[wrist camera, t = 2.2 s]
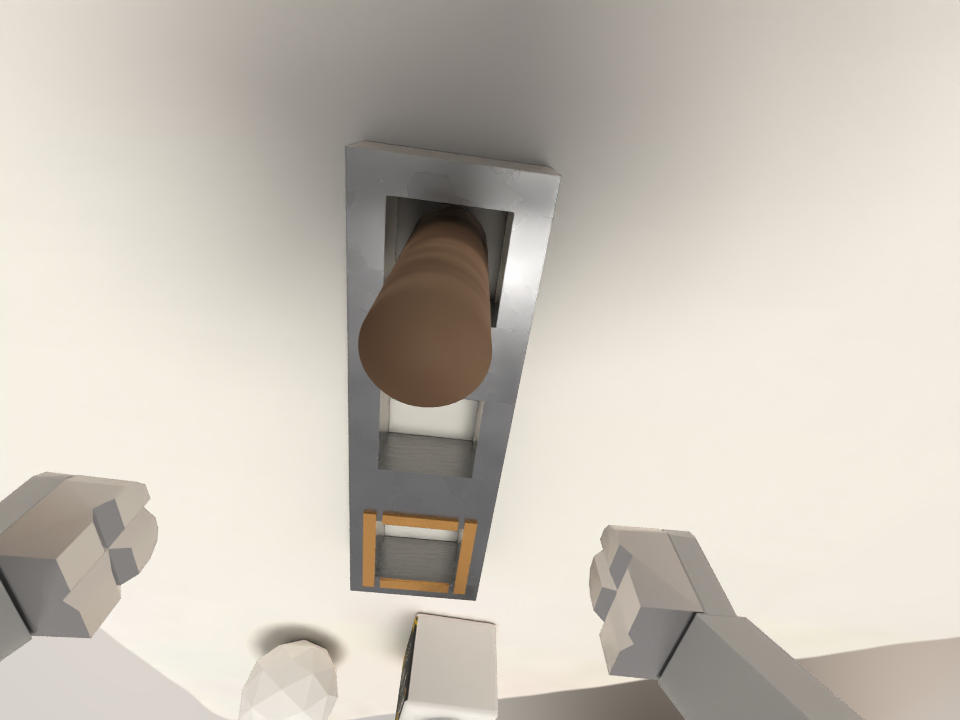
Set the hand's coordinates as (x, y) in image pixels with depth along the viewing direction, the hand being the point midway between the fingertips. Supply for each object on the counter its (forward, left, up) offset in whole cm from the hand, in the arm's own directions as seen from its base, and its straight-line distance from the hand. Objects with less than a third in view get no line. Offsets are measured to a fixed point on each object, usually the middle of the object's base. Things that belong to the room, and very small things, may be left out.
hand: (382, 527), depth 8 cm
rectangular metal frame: (+6, +7, -18) cm, 21 cm away
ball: (+32, +23, -19) cm, 44 cm away
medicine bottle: (+20, +29, -19) cm, 40 cm away
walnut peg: (0, 0, -18) cm, 18 cm away
